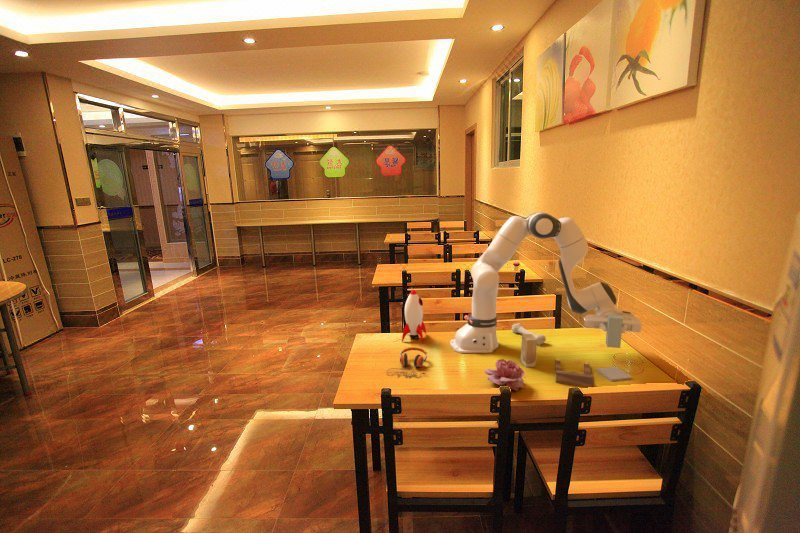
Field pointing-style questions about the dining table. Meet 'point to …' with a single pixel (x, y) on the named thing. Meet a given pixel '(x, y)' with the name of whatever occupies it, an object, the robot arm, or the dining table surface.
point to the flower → (506, 374)
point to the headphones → (417, 361)
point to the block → (614, 330)
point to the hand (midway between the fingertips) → (614, 330)
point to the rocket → (414, 316)
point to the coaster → (613, 373)
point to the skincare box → (528, 350)
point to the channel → (574, 376)
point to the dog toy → (519, 329)
